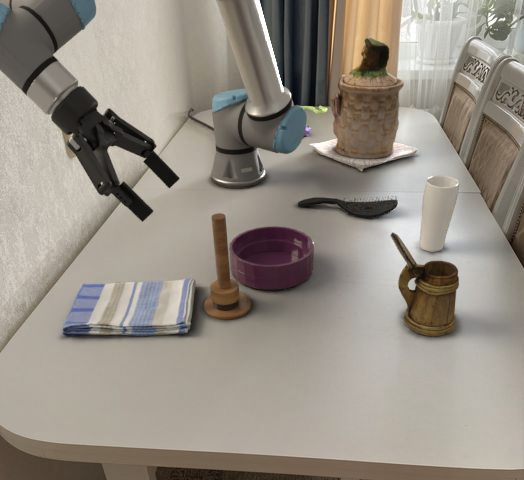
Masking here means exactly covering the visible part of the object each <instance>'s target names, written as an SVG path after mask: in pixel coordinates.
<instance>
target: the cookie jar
mask: <svg viewBox="0 0 524 480" xmlns="http://www.w3.org/2000/svg"><path fill="white" fill-rule="evenodd" d="M364 44H365V45H364V46H363V48H362V50H361V53H360V55H361V56H362V59H361V62H360V64H359V65H358V66H356V67H355V68H353V69H352V70H351V71H349V73H347V75H345V74H342V75H341V76H340V77H339V80H338V83H337V88H338V90H339V93H336V94H335V95H334V97H331V98H330V100H329V106H330V108H331V113H332V116H333V119H334V120H333V124H332V125H333V127H332V128H333V129H332V131H333V134H334V135H335V137H336V138H333V139H330V140H326V141H322V142H315V143H310V144H309V146H310V147H312V148H313V149H314V150H315V152H317V153H318V154H319V155H321V156H324V157H326V158H329V159H332V160H335V161H337V162H340V163H342V164H345V165H347V166H350V167H352V168H355V169H357V170H358V171H360V172H363V171H364V169H367V168H369V167H374V166H379V165H381V164H385V163H388V162H391V161H395V160H399V159H403V158H408V157H409V158H410V157H414V156H416V154H417V152H418V148H417V147H414V146H410V145H407V144H402V143H400V142H396V141H395V140H396V138H397V133H398V129H399V126H400V120H399V118H400V117H399V116H400V91H401V90H402V89H403V88H404V86H405V81H403V79H401V78H398V77H395V76H394V75H392V74H391V73H389V72H388V71H387V67H388V63H389V59H390V47H389V46H388V45H387V44H386V43H385V42H381V41H380V40H377V39H374V38H372V37H366V38H365V39H364Z"/></svg>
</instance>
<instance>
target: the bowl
mask: <svg viewBox="0 0 524 480" xmlns="http://www.w3.org/2000/svg"><path fill="white" fill-rule="evenodd" d="M228 253H229V266H230V273H231V274H232V277H233V278H234V279H235V280H236V281H237V282H238V283H241V284H243V285H245V286H248V287H250V288H253V289H256V290H262V291H279V290H286V289H291V288H292V287H295V286H297V285H300V284H301V283H303V282H305V281H307V280H308V279H309V278H310V277H311V276H312V273H313V271H314V261H315V259H314V258H315V243H314V241H313V239H312V238H311V237H310V235H308V234H307V233H305V232H303V231H301V230H298V229H295V228H292V227H286V226H279V225H278V226H261V227H255V228H252V229H247V230H244V231H243V232H241V233H239V234H237V235H236V236H234V237H233V239H232V240H231V241H230V243H229V246H228Z"/></svg>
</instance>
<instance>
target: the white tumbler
mask: <svg viewBox="0 0 524 480" xmlns="http://www.w3.org/2000/svg"><path fill="white" fill-rule="evenodd" d="M459 189H460V181H459V180H458V179H456V177H455V178H454V177H452V176H448V175H434V176H433V175H432V176H430V177H427V179H426V180H425V185H424V188H423V195H422V204H421V219H420V232H419V240H418V246H419V247H420V249H422V250H423V251H426V252H430V253H436V252H439V251H442V250H443V249H444V246H445V243H446V238H447V234H448V231H449V228H450V225H451V221H452V218H453V214H454V211H455V208H456V204H457V200H458V196H459V195H458V194H459Z"/></svg>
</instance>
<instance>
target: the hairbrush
mask: <svg viewBox="0 0 524 480" xmlns="http://www.w3.org/2000/svg"><path fill="white" fill-rule="evenodd" d="M381 197H382V198H381V200H380V197H379V198H378V196H376V197H373V198H372V197H369V198H370V199H371V201H367V200H368V198H367V197H364V198H363V200H362V198H357V199H356V198H354V200H352V199H350V197H349V198H348V199H349V200H346V197H344V198H343V199H340V198H334V197H324V196H321V197H320V196H317V197H316V196H314V197H309V198H304V199H302V200H299V201H298V202H297V206H298V207H302V208H304V207H310V206H318V205H336V206H337V207H339V208H340V209H342V210H343V211H344V212H345V213H346V214H348V215H350V216H353V217H355V218H359V219H373V218H379V217H382V216H385V215H386V214H387V215H388V214H390V213H391V212H393V211H394V210H395V209H396V208H397V207H398V205H399V200H398V199H397V197H395V195H394V196H393V195H391V198H390V196H389V195H387V196H385V197H383V196H381ZM386 197H387V199H386ZM394 197H395V198H394ZM374 198H375V199H374ZM359 200H360V201H359Z"/></svg>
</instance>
